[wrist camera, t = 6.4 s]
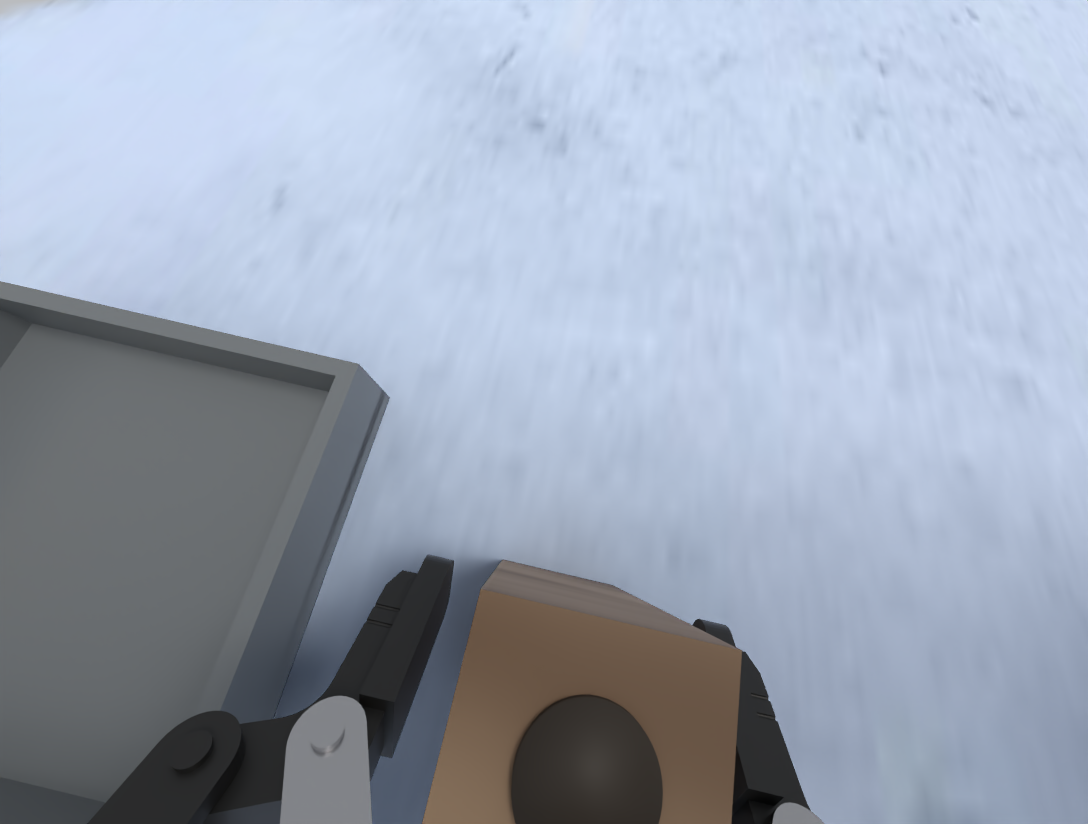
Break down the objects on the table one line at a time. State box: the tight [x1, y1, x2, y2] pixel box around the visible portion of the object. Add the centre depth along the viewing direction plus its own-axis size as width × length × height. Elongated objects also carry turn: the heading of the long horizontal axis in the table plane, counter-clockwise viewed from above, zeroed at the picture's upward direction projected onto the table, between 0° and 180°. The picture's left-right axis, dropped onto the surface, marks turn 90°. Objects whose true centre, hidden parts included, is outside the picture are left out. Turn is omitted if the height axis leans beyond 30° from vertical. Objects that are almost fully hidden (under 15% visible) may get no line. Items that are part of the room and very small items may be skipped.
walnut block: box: [422, 560, 742, 824], centre depth 10 cm, size 4×4×10 cm
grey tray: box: [0, 281, 390, 824], centre depth 13 cm, size 15×15×4 cm
